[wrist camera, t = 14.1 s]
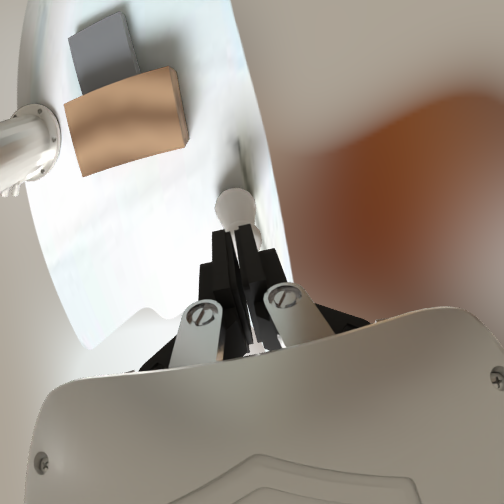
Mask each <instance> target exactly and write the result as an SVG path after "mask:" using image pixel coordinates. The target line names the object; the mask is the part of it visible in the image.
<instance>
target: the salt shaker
mask: <svg viewBox="0 0 504 504" xmlns="http://www.w3.org/2000/svg"><path fill="white" fill-rule="evenodd" d="M215 212H216V215H217V218H218V219H219V221H220V223H221V225H222V226H223V228H224V229H225V232H229V231H230V232H231V236H232V240H233V244H234V248H235V252H236V256H237V259H238V254H237V247H236V241H235V234H234V230H238V229H239V228H238V226H241V225H245V224H251V227H252V231H253V234H254V238H255V242H256V245H257V249H258V251H259V250H260V247H261V244H262V239H261V233H260V231H259V229H258V228H257V227H256V226H255V225H254V224H255V214H256V204H255V199H254V198H253V197H252V195H251V194H250V193H249V192H248V191H246V190H244V189H242V188H230V189H228V190H226V191H223V192H222V193H221V195H220V196H219V197H218V198H217V201H216V204H215Z"/></svg>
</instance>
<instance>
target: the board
mask: <svg viewBox="0 0 504 504" xmlns="http://www.w3.org/2000/svg"><path fill="white" fill-rule="evenodd" d="M68 41H69V45H70V50H71V54H72V58H73V62H74V66H75V70H76V73H77V77H78V81H79V84H80V88H81V91H82V94H83V95H85V94H87V93H90V92H92V91H94V90H97V89H99V88H102V87H104V86H107V85H110V84H112V83H115V82H118V81H121V80H123V79H126V78H129V77H132V76H135V75H138V74H141V71H140V68H139V65H138V61H137V58H136V54H135V51H134V47H133V44H132V40H131V36H130V33H129V29H128V25H127V21H126V18H125V15H124V14H123V13H121V12H120V11H119V12H117V13H114V14H112V15H110V16H108V17H106V18H104V19H102V20H100V21H98V22H96V23H94V24H92V25H90V26H89V27H87V28H85V29H83V30H81V31H80V32H78V33H76V34H75V35H73V36H71V37H70V38H68Z"/></svg>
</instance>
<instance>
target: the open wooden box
mask: <svg viewBox="0 0 504 504" xmlns="http://www.w3.org/2000/svg"><path fill="white" fill-rule="evenodd" d="M64 108H65V113H66V117H67V122H68V126H69V130H70V134H71V138H72V142H73V146H74V149H75V153H76V156H77V160H78V163H79V167H80V170H81V173H82V176H83V177H85V176H88V175H91V174H94V173H97V172H100V171H103V170H106V169H109V168H112V167H115V166H118V165H121V164H125V163H128V162H131V161H135V160H138V159H142V158H145V157H149V156H153V155H156V154H160V153H164V152H168V151H172V150H176V149H180V148H185V146H186V144H187V142H188V140H189V135H188V130H187V125H186V120H185V115H184V110H183V105H182V100H181V94H180V89H179V84H178V78H177V72H176V71H175V70H174V69H172V68H171V67H169V66H166V67H162V68H159V69H155V70H152V71H148V72H145V73H142V74H138V75H135V76H132V77H129V78H126V79H123V80H121V81H118V82H115V83H112V84H110V85H107V86H104V87H102V88H99V89H97V90H94V91H92V92H90V93H87V94H85V95H83V96H80V97H78V98H76V99H74V100H72V101H70V102H67V103H65V104H64Z"/></svg>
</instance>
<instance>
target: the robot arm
mask: <svg viewBox="0 0 504 504" xmlns="http://www.w3.org/2000/svg"><path fill="white" fill-rule="evenodd" d="M60 144H61V135H60V129H59V124H58V122H57V119H56V117H55V116H54V114H53V113H52V112H51V111H50V110H49V109H48V108H47V107H45V106H44V105H40V104H29V105H26V106H23V107H21V108H20V109H18V110H17V111H16V112H15V113H14V114H13V115H12V117H11V118H10V119H8V120H5V121H2V122H0V195H1V196H2V197H7V196H8V195H9V191H10V187H11V186H12V185H14V186H13V189H12V195H13V196H17V195H18V194H19V189H20V184H22V183H23V182H25V181H36V180H38V179H40V178H42V177H44V176H45V175H46V174H47V173H49V171H50V170H51V169H52V168H53V166H54V164H55V163H56V161H57V158H58V155H59V151H60ZM238 228H239V229H238V230H234V234H235V241H236V247H237V254H238V260H239V264H238V260H237V256H236V252H235V248H234V244H233V240H232V236H231V232H230V231H229V232H225V229H223V230H218V231H214V232H212V262H209V263H205V264H201V265H200V275H199V299H198V301H197V302H195V303H193V304H191V305H190V306H188V307H187V309H186V310H185V311H184V313H183V315H182V318H181V322H180V326H179V330H178V333H177V335H176V336H175V337H174V338H173V339H172V340H170V341H169V342H168V343H167V344H166V345H165V346H164V347H163V348H161V349H160V350H159V351H158V352H157V353H156V354H155V355H154V356H153V357H152V358H150V359H149V360H148V361H147V362H146V363H145V364H144V365H143V366H142V367H141V368H140V370H139V372H135V371H134V370H132V371H129V372H126V373H121V374H111V375H100V376H91V377H85V378H80V379H77V380H73V381H70V382H68V383H65V384H63V385H60V386H59V387H57V388H55V389H54V390H53V391H51V392H50V393H49V394H48V395H47V397H46V399H45V400H44V402H43V404H42V407H41V409H40V412H39V415H38V418H37V421H36V424H35V428H34V432H33V436H32V441H31V445H30V451H29V457H28V464H27V472H26V482H25V498H24V504H504V348H503V347H502V346H501V344H500V343H499V342H498V340H497V339H496V338H495V336H494V335H493V334H492V333H491V331H490V330H489V329H488V328H487V327H486V326H485V325H484V324H483V323H482V322H481V321H480V320H479V319H478V318H477V317H476V316H475V315H473V314H472V313H470V312H468V311H467V310H464V309H461V308H456V307H433V308H427V309H421V310H417V311H413V312H408V313H405V314H402V315H399V316H396V317H392V318H387V319H379V320H376V322H375V323H372V324H370V323H369V322H368V321H366V320H364V319H361V318H358V317H355V316H352V315H349V314H346V313H343V312H340V311H337V310H334V309H331V308H328V307H325V306H322V305H319V304H316V303H313V301H312V299H311V298H310V297H309V295H308V294H307V292H306V291H305V289H304V288H303V287H302V286H300V285H298V284H296V283H291V282H287V280H286V277H285V274H284V271H283V269H282V266H281V263H280V261H279V258H278V255H277V253H276V250H275V248H273V249H268V250H263V251H259V252H258V249H257V245H256V242H255V238H254V234H253V231H252V227H251V224H245V225H241V226H238ZM239 267H240V268H239ZM247 305H248V307H247ZM248 308H249V312H250V316H251V320H252V323H253V327H254V331H255V335H256V338H257V342H258V343H259V342H263V345H264V348H265V349H267V350H269V351H268V352H264V353H259V354H254V355H249V356H244V355H245V354H246V353H249V352H250V350H249V344H253V338H252V332H251V325H250V319H249V313H248ZM243 356H244V357H243Z"/></svg>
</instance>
